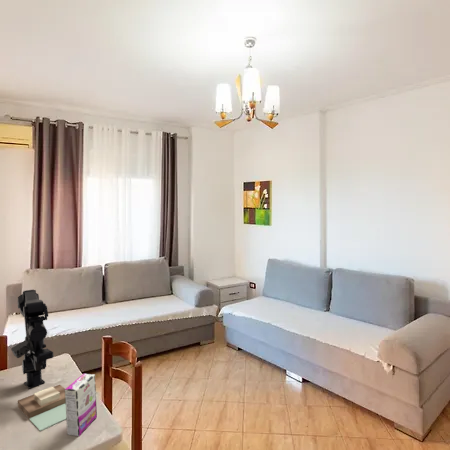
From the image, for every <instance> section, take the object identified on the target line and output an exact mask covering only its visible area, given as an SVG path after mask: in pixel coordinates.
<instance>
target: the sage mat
mask: <svg viewBox="0 0 450 450" xmlns="http://www.w3.org/2000/svg"><path fill="white" fill-rule="evenodd" d="M29 421H30V422H31V423H32V424H33V426H35V427H36V428H37V429H38V430H39V432H43V431H44V430H46V429H49V428H50V427H53V426H56V425H58V424H60V423H62V422H63V421H66V403H65V404H62V405H60V406H58V407H55V408H53V409H51V410H48V411H46V412H44V413H41V414H39V415H36V416H34V417H32V418H29Z"/></svg>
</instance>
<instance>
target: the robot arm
mask: <svg viewBox="0 0 450 450" xmlns="http://www.w3.org/2000/svg"><path fill="white" fill-rule="evenodd" d="M16 304H17V309H19V313H20V314H21V316H22V317H23V318H24V329H25V337H24V339H25V340H23V341H21V342H20V343H17V344H16V345H14V346H13V347H12V348H10V350H11V351H12V354H13V356H14V357H15V358H17V359H20V358H22V357H23V359H22V363H21V367H22V369H21V370H22V373H23V375H26V381H24V382H23V385H25V386H26V387H27V389H33V388H34V387H37V386H39V385H40V386H41V385H43V384H45V383H46V381H45V380H44V379H42V378H43V376H42V373H43V372H42V370H46V368H47V361H48V360H49V359H53V358H54V351H52V350H51V349H49V348H47V344H45V338H46V337H47V335H48V330H47V328H46V326H45V323H44V321H47V320H48V317H49V311H48V306H47V305H46V302H45V303H44V301H43V300H42V299H40V296H39V293H37V291H36V289H29V290H28V289H27V290H23V291H22V293H21V294H20V295H19V296H18V297H17V303H16Z"/></svg>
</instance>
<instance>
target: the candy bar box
mask: <svg viewBox="0 0 450 450" xmlns="http://www.w3.org/2000/svg"><path fill="white" fill-rule="evenodd" d="M96 388H97V387H96V374H91V373H82V374H81V375H80V376H79V377H78V378H76V379H75V380H74V381H73V382H71V384H69V385H68V386H67V387H66V388H65V403H66V420H65V421H66V435H67V436H73V437H80V436H82V434H83V433H84V432H85V431H86V430H87V428H89V426H91V424H92V423H93V422H94V421H95V420H96V419H97V417H98V413H97V389H96Z"/></svg>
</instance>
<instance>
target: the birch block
mask: <svg viewBox="0 0 450 450" xmlns="http://www.w3.org/2000/svg"><path fill="white" fill-rule="evenodd" d="M33 395H34V400H35V401H36V402H37V403H38V404H39V405H40V406H44V405H46V404H48V403H51V402H53V401H56V400H58V399H60V392H58V391H57V390H56V389H55V388H54V386H49V387H47V388H44V389H42V390H40V391H36V392H35V393H33Z"/></svg>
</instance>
